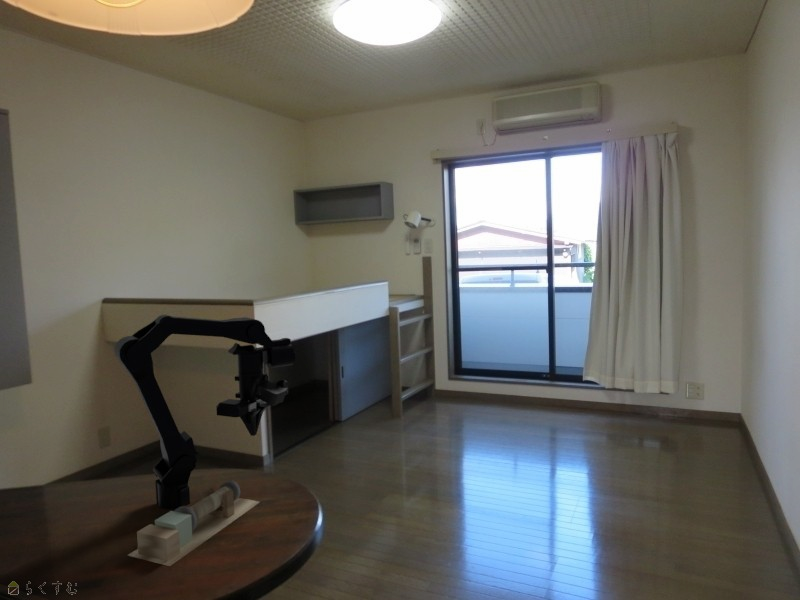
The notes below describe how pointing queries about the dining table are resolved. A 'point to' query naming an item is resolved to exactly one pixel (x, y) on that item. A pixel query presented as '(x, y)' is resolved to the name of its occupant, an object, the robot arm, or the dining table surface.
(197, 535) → the bench
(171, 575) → the dining table surface
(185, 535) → the block
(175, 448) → the robot arm
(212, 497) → the shaft
